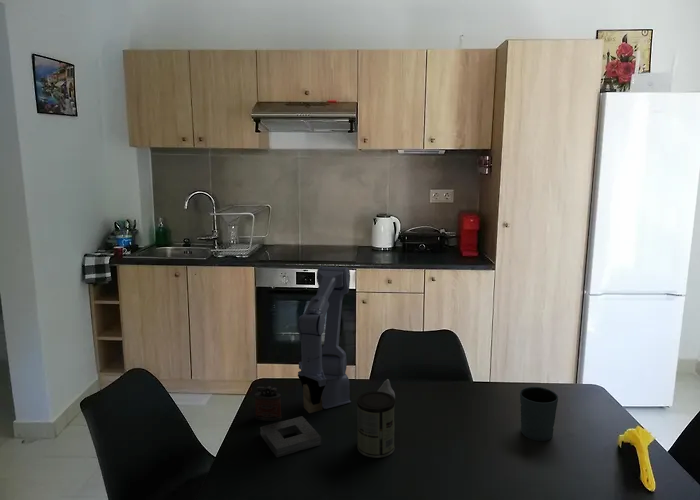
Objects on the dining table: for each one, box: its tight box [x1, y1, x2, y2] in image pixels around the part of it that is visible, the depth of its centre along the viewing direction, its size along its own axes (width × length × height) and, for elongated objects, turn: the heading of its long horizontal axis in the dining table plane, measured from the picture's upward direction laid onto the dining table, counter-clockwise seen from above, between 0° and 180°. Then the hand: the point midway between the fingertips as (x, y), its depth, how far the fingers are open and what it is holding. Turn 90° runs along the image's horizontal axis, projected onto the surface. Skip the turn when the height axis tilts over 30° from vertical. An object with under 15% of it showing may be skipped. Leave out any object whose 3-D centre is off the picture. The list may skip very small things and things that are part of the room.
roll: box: [377, 378, 396, 399], centre depth 160 cm, size 6×12×6 cm
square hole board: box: [259, 415, 322, 458], centre depth 147 cm, size 13×13×2 cm
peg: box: [302, 384, 323, 414], centre depth 150 cm, size 4×4×7 cm
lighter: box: [254, 385, 282, 422], centre depth 159 cm, size 8×3×10 cm, turn 84°
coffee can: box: [356, 390, 396, 459], centre depth 142 cm, size 10×10×14 cm
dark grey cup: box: [519, 386, 559, 442], centre depth 149 cm, size 10×10×12 cm
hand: (312, 400), depth 150 cm, fingers closed on peg, 4 cm apart
